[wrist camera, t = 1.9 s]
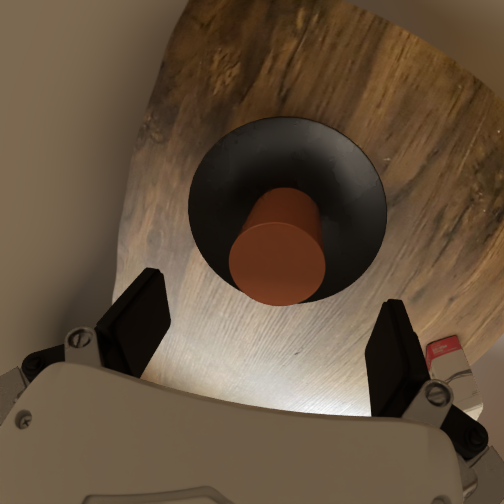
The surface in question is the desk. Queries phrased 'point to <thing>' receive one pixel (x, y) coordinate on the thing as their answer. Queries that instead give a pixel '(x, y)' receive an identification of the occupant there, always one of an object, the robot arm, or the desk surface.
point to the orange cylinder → (280, 249)
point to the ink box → (454, 374)
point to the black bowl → (297, 177)
